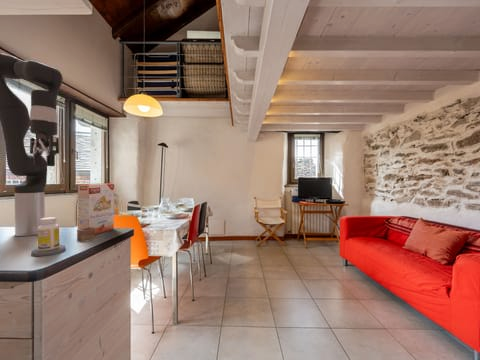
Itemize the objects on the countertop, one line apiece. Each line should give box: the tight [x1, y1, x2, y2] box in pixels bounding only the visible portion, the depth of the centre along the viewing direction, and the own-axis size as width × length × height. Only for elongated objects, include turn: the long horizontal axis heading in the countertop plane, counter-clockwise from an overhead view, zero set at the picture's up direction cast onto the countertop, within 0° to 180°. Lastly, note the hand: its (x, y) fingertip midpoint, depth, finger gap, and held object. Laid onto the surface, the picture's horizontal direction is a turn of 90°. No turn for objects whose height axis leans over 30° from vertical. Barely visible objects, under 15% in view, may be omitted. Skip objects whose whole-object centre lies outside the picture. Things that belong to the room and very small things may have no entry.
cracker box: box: [77, 183, 115, 236], centre depth 101 cm, size 14×6×21 cm, turn 168°
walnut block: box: [76, 228, 95, 243], centre depth 90 cm, size 4×4×4 cm
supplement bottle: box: [37, 216, 61, 251], centre depth 75 cm, size 5×5×10 cm
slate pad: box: [30, 244, 66, 258], centre depth 75 cm, size 8×8×1 cm
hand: (44, 166), depth 85 cm, fingers open, 8 cm apart
